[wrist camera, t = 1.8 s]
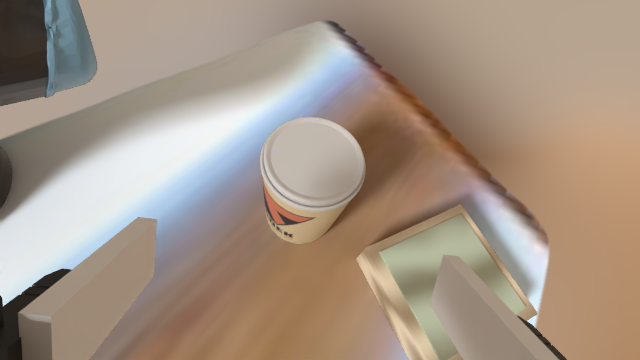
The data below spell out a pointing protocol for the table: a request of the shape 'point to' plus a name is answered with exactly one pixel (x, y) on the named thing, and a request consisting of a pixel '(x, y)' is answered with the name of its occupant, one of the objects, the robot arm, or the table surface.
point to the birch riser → (433, 279)
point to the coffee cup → (309, 177)
